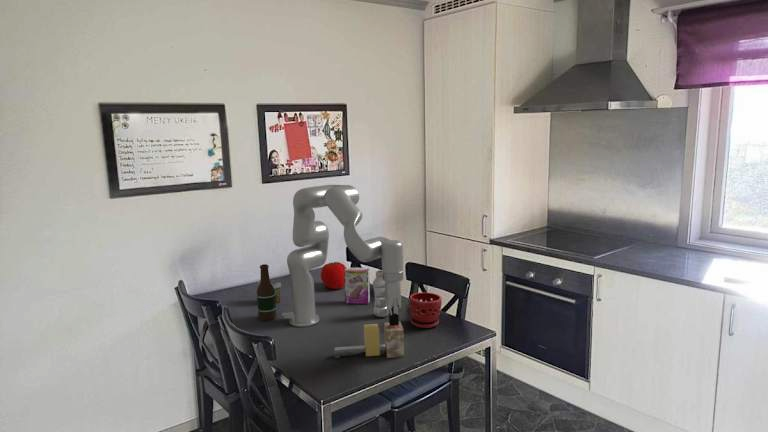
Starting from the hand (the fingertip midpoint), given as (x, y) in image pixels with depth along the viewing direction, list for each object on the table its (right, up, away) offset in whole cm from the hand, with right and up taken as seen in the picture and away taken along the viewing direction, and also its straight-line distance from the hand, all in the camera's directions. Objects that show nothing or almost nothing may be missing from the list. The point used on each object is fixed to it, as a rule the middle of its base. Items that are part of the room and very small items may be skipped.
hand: (394, 324), depth 181 cm
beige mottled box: (0, -11, +2) cm, 11 cm away
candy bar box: (-16, -2, +55) cm, 57 cm away
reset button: (0, -4, +1) cm, 4 cm away
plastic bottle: (-5, -5, +37) cm, 38 cm away
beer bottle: (-54, -6, +38) cm, 66 cm away
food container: (-58, -2, +57) cm, 82 cm away
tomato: (-29, +2, +78) cm, 83 cm away
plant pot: (+14, -6, +27) cm, 31 cm away
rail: (-12, -11, +1) cm, 16 cm away
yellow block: (-8, -10, +1) cm, 13 cm away
